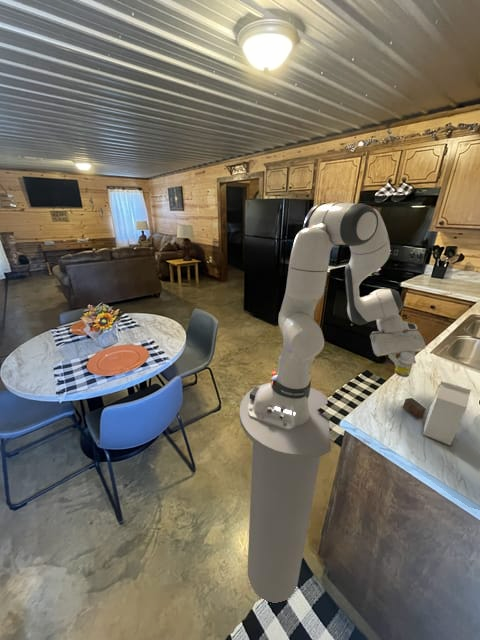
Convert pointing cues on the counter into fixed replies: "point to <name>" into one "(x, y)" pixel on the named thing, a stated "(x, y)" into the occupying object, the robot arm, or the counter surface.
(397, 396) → the counter surface
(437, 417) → the milk carton
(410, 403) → the brown wooden block
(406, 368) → the supplement bottle
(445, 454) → the counter surface
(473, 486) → the counter surface
